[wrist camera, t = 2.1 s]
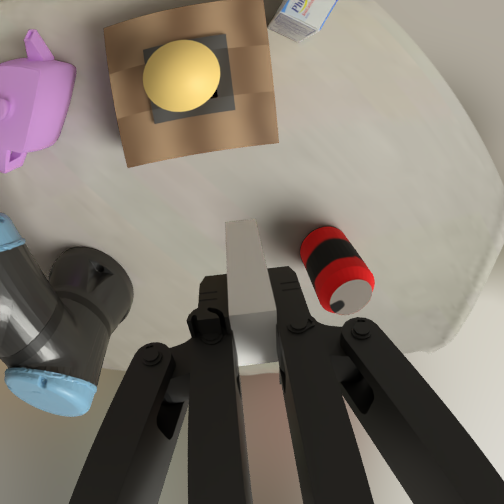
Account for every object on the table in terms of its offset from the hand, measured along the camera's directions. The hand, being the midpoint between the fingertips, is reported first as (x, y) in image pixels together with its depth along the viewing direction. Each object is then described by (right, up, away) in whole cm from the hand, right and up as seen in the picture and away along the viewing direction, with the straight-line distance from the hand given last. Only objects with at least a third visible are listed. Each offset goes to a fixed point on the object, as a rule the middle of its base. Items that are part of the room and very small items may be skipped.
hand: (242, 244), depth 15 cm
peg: (-6, +17, +11) cm, 21 cm away
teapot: (-27, +21, +13) cm, 37 cm away
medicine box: (+6, +29, +11) cm, 31 cm away
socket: (-6, +20, +15) cm, 26 cm away
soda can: (+11, 0, +30) cm, 32 cm away
